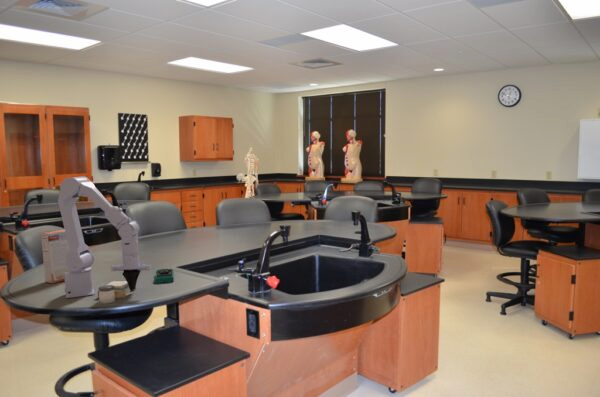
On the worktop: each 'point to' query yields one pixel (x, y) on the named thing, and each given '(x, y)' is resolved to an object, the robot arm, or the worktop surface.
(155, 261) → the worktop surface
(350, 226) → the worktop surface
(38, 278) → the worktop surface
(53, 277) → the cracker box
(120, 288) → the carton
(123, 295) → the display stand
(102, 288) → the jar
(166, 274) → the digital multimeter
